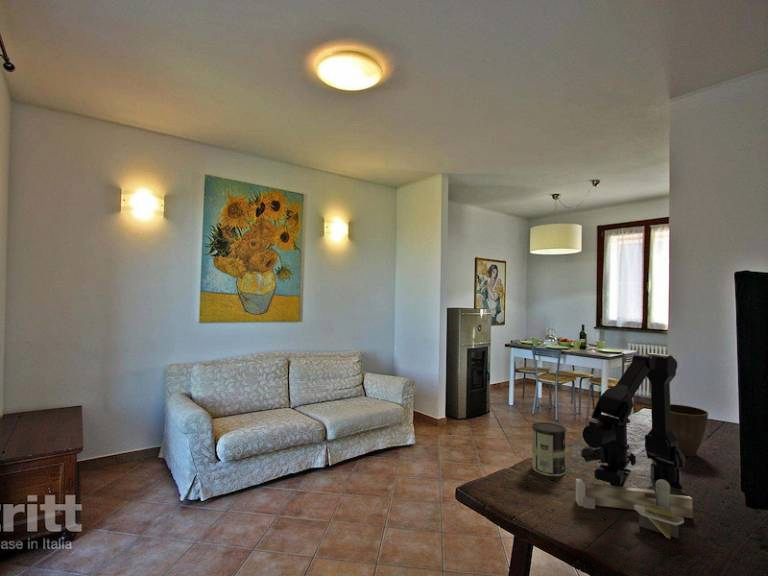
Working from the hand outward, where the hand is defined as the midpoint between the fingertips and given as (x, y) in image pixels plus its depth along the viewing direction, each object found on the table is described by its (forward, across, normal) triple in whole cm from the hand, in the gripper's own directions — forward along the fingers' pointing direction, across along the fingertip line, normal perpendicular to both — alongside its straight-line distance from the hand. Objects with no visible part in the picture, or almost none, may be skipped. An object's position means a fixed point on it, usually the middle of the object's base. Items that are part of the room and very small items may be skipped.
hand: (616, 496), depth 111 cm
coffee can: (+2, -7, -22) cm, 23 cm away
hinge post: (+2, -2, +10) cm, 11 cm away
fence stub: (+2, -4, +14) cm, 14 cm away
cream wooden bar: (+1, +4, +2) cm, 4 cm away
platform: (+2, +10, +11) cm, 15 cm away
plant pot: (+4, -58, +8) cm, 58 cm away
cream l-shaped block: (+1, +8, -6) cm, 10 cm away
